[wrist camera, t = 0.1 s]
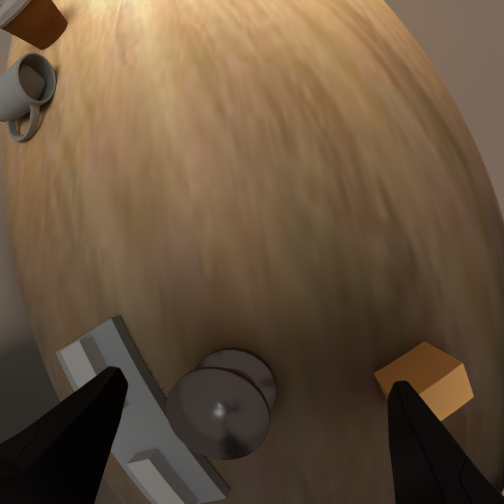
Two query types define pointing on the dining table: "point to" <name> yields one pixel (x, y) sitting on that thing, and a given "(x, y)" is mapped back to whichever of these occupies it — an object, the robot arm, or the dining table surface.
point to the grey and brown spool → (223, 404)
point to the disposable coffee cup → (32, 21)
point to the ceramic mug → (25, 92)
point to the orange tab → (429, 378)
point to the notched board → (142, 421)
